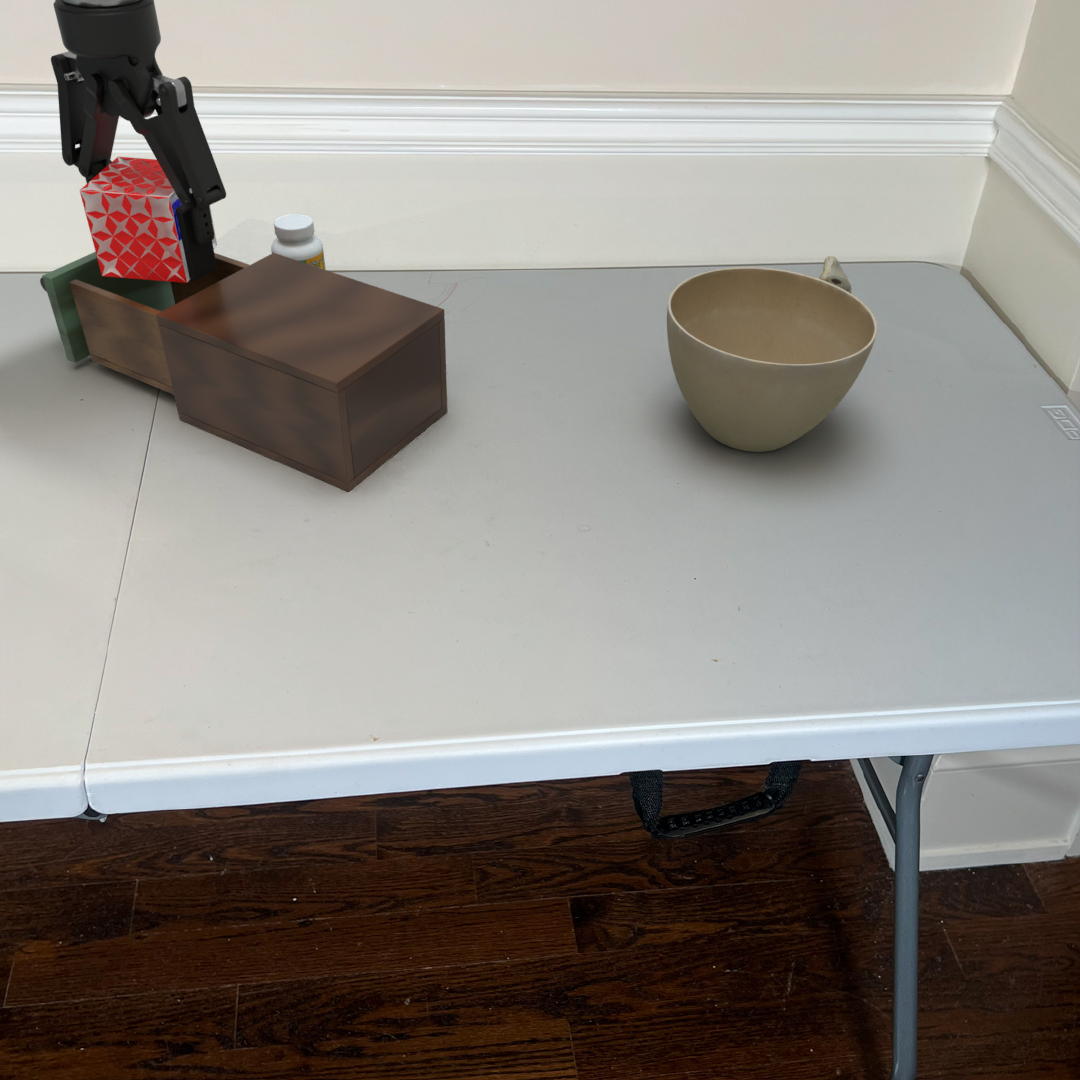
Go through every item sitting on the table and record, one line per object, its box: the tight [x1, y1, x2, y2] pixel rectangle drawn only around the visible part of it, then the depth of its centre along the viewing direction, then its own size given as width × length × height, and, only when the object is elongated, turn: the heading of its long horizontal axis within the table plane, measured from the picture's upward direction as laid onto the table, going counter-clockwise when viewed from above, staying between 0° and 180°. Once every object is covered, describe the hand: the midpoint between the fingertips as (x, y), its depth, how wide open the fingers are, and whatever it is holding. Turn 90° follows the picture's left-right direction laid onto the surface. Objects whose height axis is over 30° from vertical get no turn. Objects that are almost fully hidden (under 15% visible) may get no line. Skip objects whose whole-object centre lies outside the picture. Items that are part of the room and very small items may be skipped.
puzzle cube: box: [79, 156, 218, 283], centre depth 93 cm, size 8×8×8 cm
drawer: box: [39, 251, 250, 396], centre depth 100 cm, size 24×14×9 cm, turn 59°
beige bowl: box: [666, 266, 878, 453], centre depth 94 cm, size 18×18×12 cm
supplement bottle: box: [270, 213, 326, 270], centre depth 110 cm, size 5×5×10 cm
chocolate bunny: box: [818, 255, 852, 294], centre depth 107 cm, size 6×8×10 cm
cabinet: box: [156, 252, 448, 492], centre depth 93 cm, size 20×15×11 cm
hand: (160, 258), depth 96 cm, fingers closed on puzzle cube, 10 cm apart
